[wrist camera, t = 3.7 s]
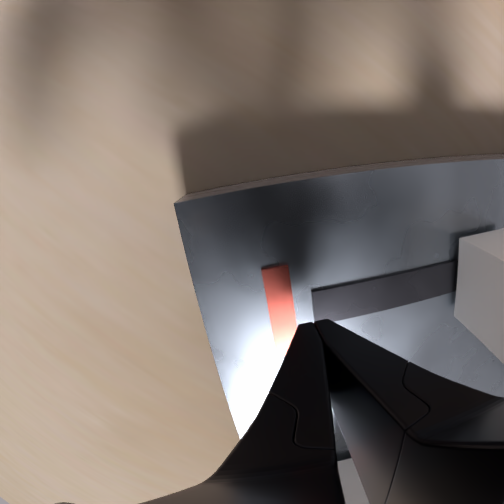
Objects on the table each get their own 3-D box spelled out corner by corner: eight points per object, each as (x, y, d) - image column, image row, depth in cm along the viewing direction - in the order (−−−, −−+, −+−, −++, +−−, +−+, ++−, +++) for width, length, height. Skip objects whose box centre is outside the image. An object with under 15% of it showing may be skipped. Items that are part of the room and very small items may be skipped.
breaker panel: (567, 153, 10) (593, 157, 8) (486, 470, 19) (494, 484, 17) (185, 194, 11) (173, 203, 9) (282, 535, 19) (284, 554, 17)
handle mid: (380, 450, 12) (402, 507, 9) (375, 478, 13) (392, 529, 10) (332, 462, 12) (347, 524, 9) (332, 489, 13) (344, 543, 10)
